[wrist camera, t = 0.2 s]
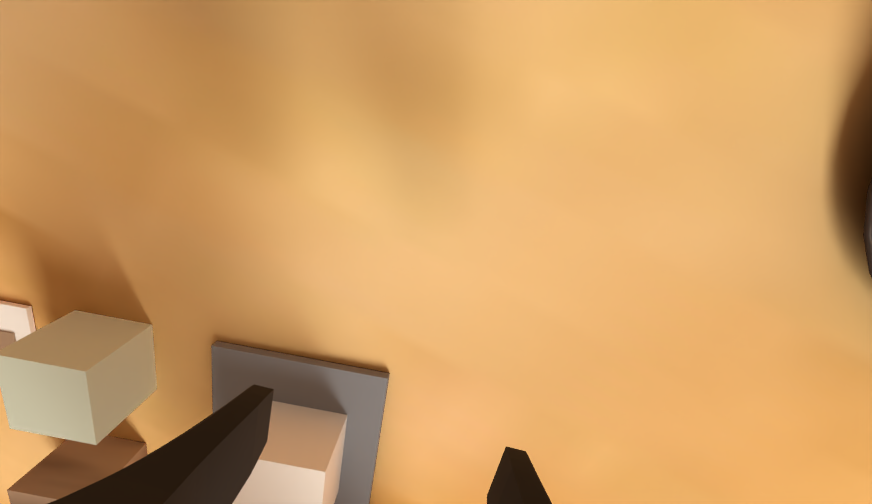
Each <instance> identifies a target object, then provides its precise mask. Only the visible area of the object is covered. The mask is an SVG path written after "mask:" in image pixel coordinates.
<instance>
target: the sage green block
mask: <svg viewBox="0 0 872 504" xmlns="http://www.w3.org/2000/svg"><path fill="white" fill-rule="evenodd" d="M0 388H1V392H2V397H3V401H4V405H5V409H6V414H7V418H8V422H9V426H10V429H15V430H20V431H26V432H31V433H36V434H41V435H46V436H52V437H57V438H62V439H67V440H72V441H78V442H83V443H88V444H93V445H97V444H98V443H99V442H100V441H101V440H102V439H103V438H105V437H106V436H107V435H108V434H109V433H110V432H111V431H112V430H113V429H114V428H115V427H116V426H118V425H119V424H120V423H121V422H122V421H123V420H124V419H125V418H126V417H127V416H128V415H130V414H131V413H132V412H133V411H134V410H135V409H136V408H137V407H138V406H139V405H140V404H141V403H143V402H144V401H145V400H146V399H147V398H148V397H149V396H150V395H151V394H152V393H153V392H154V391H156V390H157V380H156V366H155V353H154V340H153V327H152V324H147V323H142V322H136V321H131V320H125V319H120V318H115V317H109V316H104V315H99V314H93V313H88V312H83V311H77V310H74V311H72V312H71V313H69V314H67V315H65V316H63V317H61V318H59V319H57V320H55V321H54V322H52V323H50V324H48V325H46V326H44V327H42V328H40V329H38V330H37V331H35V332H33V333H31V334H29V335H27V336H25V337H23V338H22V339H20V340H18V341H16V342H14V343H12V344H10V345H8V346H6V347H5V348H3V349H1V350H0Z"/></svg>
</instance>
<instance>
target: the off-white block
mask: <svg viewBox="0 0 872 504" xmlns="http://www.w3.org/2000/svg"><path fill="white" fill-rule="evenodd" d="M346 423H347V415H345V414H340V413H335V412H329V411H324V410H319V409H313V408H308V407H303V406H297V405H292V404H287V403H282V402H276V401H272V408H271V416H270V423H269V431H268V439H267V443H266V445H265V447H264V449H263V451H262V453H261V455H260V457H259V459H258V461H257V463H256V465H255V467H254V469H253V471H252V473H251V475H250V476H249V478H248V480H247V481H246V483H245V484H244V486H243V488H242V489H241V491H240V492H239V494H238V496H237V497H236V499H235V500H234V502H233V503H232V504H334V502H335V499H336V496H337V493H338V490H339V482H340V473H341V465H342V457H343V448H344V440H345V431H346Z"/></svg>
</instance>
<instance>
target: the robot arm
mask: <svg viewBox="0 0 872 504" xmlns="http://www.w3.org/2000/svg"><path fill="white" fill-rule="evenodd" d="M273 393H274V389H271V388H267V387H263V386H259V385H255V384H254V385H252V386H250V387H249V388H247V389H246V390H245V391H243V392H242V393H241V394H239V395H238V396H237V397H235V398H234V399H233V400H231V401H230V402H228V403H227V404H226V405H224V406H223V407H221V408H220V409H219V410H217V411H216V412H214V413H213V414H211V415H210V416H209V417H207V418H206V419H204V420H203V421H201V422H200V423H198V424H197V425H195V426H194V427H192V428H191V429H189V430H188V431H186V432H185V433H183V434H181V435H180V436H178V437H177V438H175V439H173V440H172V441H170V442H169V443H167V444H165V445H164V446H162V447H160V448H159V449H157V450H155V451H154V452H152V453H150V454H148V455H147V456H145V457H143V458H141V459H140V460H138V461H136V462H134V463H132V464H130V465H129V466H127V467H125V468H123V469H121V470H119V471H117V472H115V473H113V474H111V475H109V476H107V477H105V478H103V479H101V480H99V481H97V482H95V483H93V484H91V485H89V486H86V487H84V488H82V489H80V490H78V491H76V492H73V493H71V494H69V495H67V496H65V497H62V498H60V499H58V500H55V501H53V502H50V503H48V504H232V503H233V502H234V500H235V499H236V497H237V496H238V494H239V492H240V491H241V489H242V488H243V486H244V484H245V483H246V481H247V480H248V478H249V476H250V475H251V473H252V471H253V469H254V467H255V465H256V463H257V461H258V459H259V457H260V455H261V453H262V451H263V449H264V447H265V445H266V443H267V439H268V431H269V423H270V416H271V408H272V400H273ZM487 504H552V503H551V501H550V499H549V497H548V495H547V493H546V491H545V489H544V487H543V485H542V483H541V481H540V479H539V477H538V475H537V473H536V471H535V469H534V467H533V465H532V463H531V461H530V459H529V457H528V455H527V453H526V451H522V450H518V449H514V448H510V447H506V448H505V451H504V453H503V456H502V458H501V461H500V464H499V466H498V469H497V471H496V474H495V476H494V479H493V482H492V484H491V487H490V489H489V492H488V495H487Z"/></svg>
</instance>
